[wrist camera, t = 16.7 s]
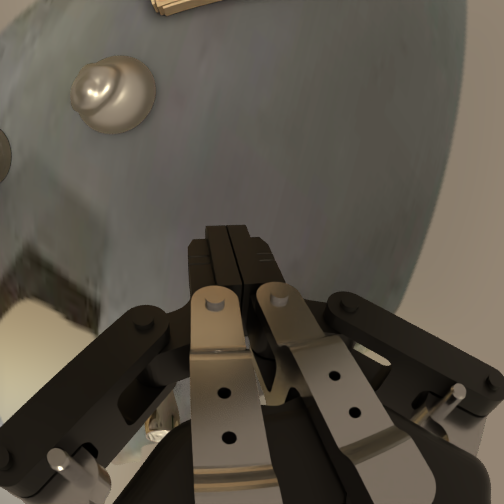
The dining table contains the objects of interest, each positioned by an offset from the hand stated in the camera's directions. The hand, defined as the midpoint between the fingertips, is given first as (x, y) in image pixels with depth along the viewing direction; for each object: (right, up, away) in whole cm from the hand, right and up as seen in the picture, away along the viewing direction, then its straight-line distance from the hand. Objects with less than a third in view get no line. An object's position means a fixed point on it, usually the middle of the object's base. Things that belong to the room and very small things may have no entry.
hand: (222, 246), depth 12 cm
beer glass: (-18, -26, +49) cm, 58 cm away
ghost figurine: (-14, +19, +19) cm, 31 cm away
